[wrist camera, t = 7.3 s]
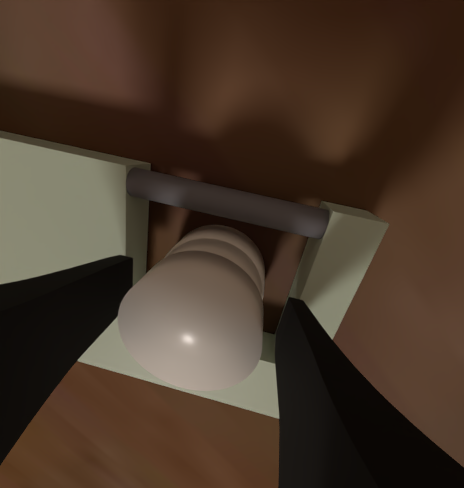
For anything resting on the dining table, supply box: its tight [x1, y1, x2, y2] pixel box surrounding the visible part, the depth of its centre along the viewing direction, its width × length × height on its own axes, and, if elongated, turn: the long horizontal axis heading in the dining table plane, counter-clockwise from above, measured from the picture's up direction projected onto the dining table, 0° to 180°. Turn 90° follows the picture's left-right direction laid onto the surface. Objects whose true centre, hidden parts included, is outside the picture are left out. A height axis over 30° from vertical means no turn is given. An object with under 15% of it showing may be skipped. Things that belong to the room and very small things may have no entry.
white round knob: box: [118, 225, 265, 391], centre depth 10 cm, size 5×5×5 cm
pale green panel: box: [0, 131, 389, 418], centre depth 12 cm, size 20×12×2 cm, turn 79°
